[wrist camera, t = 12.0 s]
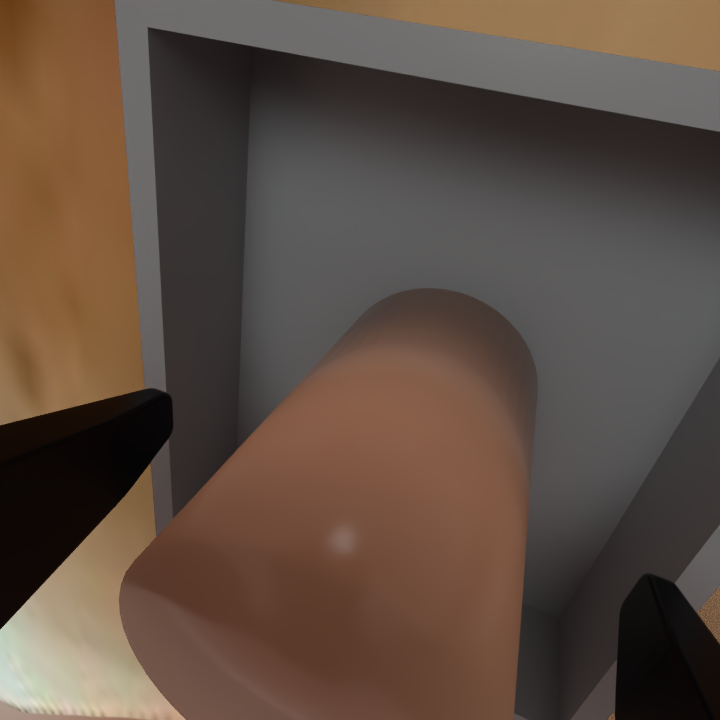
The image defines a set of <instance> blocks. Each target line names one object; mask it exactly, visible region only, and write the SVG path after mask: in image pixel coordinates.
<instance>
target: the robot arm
mask: <svg viewBox="0 0 720 720" xmlns="http://www.w3.org/2000/svg"><path fill="white" fill-rule="evenodd" d="M173 427H174V422H173V400H172V397H171V395H170V394H168V393H166V392H163V391H161V390H158V389H155V388H148V389H144V390H140V391H136V392H132V393H128V394H124V395H120V396H116V397H112V398H108V399H104V400H100V401H96V402H92V403H88V404H84V405H80V406H76V407H72V408H68V409H64V410H60V411H56V412H52V413H48V414H44V415H40V416H36V417H32V418H28V419H24V420H20V421H16V422H12V423H8V424H4V425H0V629H1V628H2V627H3V626H4V625H5V624H6V623H7V622H8V621H9V620H10V619H11V617H12V616H13V615H14V614H15V613H16V612H17V611H18V610H19V609H20V608H21V607H22V606H23V605H24V604H25V602H26V601H27V600H28V599H29V598H30V597H31V596H32V595H33V594H34V593H35V592H36V591H37V590H38V589H39V587H40V586H41V585H42V584H43V583H44V582H45V581H46V580H47V579H48V578H49V577H50V576H51V575H52V574H53V573H54V571H55V570H56V569H57V568H58V567H59V566H60V565H61V564H62V563H63V562H64V561H65V560H66V559H67V558H68V556H69V555H70V554H71V553H72V552H73V551H74V550H75V549H76V548H77V547H78V546H79V545H80V544H81V543H82V541H83V540H84V539H85V538H86V537H87V536H88V535H89V534H90V533H91V532H92V531H93V530H94V529H95V528H96V526H97V525H98V524H99V523H100V522H101V521H102V520H103V519H104V518H105V517H106V516H107V515H108V514H109V513H110V511H111V510H112V509H113V508H114V507H115V506H116V505H117V504H118V503H119V502H120V501H121V499H122V498H123V497H124V496H125V495H126V494H127V492H128V491H129V490H130V489H131V487H132V486H133V485H134V484H135V482H136V481H137V480H138V478H139V477H140V476H141V474H142V473H143V472H144V470H145V469H146V468H147V466H148V465H149V464H150V463H151V461H152V460H153V459H154V457H155V456H156V455H157V453H158V452H159V451H160V449H161V448H162V447H163V445H164V444H165V443H166V442H167V440H168V439H169V437H170V436H171V434H172V431H173ZM615 720H720V644H719V642H718V641H717V640H716V638H715V637H714V636H713V634H712V633H711V631H710V630H709V629H708V627H707V626H706V625H705V623H704V622H703V621H702V619H701V618H700V617H699V615H698V614H697V612H696V611H695V610H694V608H693V607H692V606H691V604H690V603H689V602H688V600H687V599H686V597H685V596H684V595H683V593H682V592H681V591H680V589H679V588H678V587H677V586H676V584H675V583H673V582H672V581H670V580H667V579H665V578H662V577H659V576H657V575H654V574H651V573H645V574H643V575H642V576H641V577H640V578H639V580H638V581H637V583H636V584H635V585H634V587H633V588H632V590H631V591H630V593H629V594H628V595H627V597H626V598H625V600H624V601H623V603H622V606H621V609H620V613H619V629H618V650H617V670H616V690H615Z"/></svg>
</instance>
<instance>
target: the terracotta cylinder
mask: <svg viewBox="0 0 720 720" xmlns="http://www.w3.org/2000/svg"><path fill="white" fill-rule="evenodd" d="M537 393H538V379H537V372H536V367H535V363H534V360H533V357H532V354H531V352H530V350H529V348H528V346H527V344H526V342H525V341H524V339H523V338H522V336H521V335H520V333H519V332H518V331H517V329H516V328H515V327H514V326H513V325H512V324H511V323H510V322H509V321H508V320H507V319H506V318H505V317H504V316H503V315H501V314H500V313H499V312H498V311H497V310H495V309H493V308H492V307H490V306H489V305H487V304H486V303H484V302H482V301H480V300H478V299H476V298H474V297H471V296H469V295H466V294H463V293H460V292H456V291H451V290H447V289H437V288H418V289H412V290H406V291H402V292H399V293H396V294H392V295H390V296H388V297H386V298H384V299H382V300H380V301H378V302H377V303H375V304H374V305H372V306H371V307H370V308H369V309H368V310H367V311H365V312H364V313H363V314H362V315H361V316H360V317H359V318H358V319H357V321H356V322H355V323H354V324H353V325H352V326H351V327H350V328H349V329H348V330H347V331H346V332H345V334H344V335H343V336H342V337H341V338H340V339H339V340H338V341H337V342H336V343H335V344H334V345H333V347H332V348H331V349H330V350H329V351H328V352H327V353H326V354H325V355H324V356H323V357H322V358H321V360H320V361H319V362H318V363H317V364H316V365H315V366H314V367H313V368H312V369H311V370H310V371H309V372H308V374H307V375H306V376H305V377H304V378H303V379H302V380H301V381H300V382H299V383H298V384H297V385H296V387H295V388H294V389H293V390H292V391H291V392H290V393H289V394H288V395H287V396H286V397H285V398H284V400H283V401H282V402H281V403H280V404H279V405H278V406H277V407H276V408H275V409H274V410H273V411H272V413H271V414H270V415H269V416H268V417H267V418H266V419H265V420H264V421H263V422H262V423H261V424H260V426H259V427H258V428H257V429H256V430H255V431H254V432H253V433H252V434H251V435H250V436H249V437H248V439H247V440H246V441H245V442H244V443H243V444H242V445H241V446H240V447H239V448H238V449H237V450H236V451H235V453H234V454H233V455H232V456H231V457H230V458H229V459H228V460H227V461H226V462H225V463H224V464H223V466H222V467H221V468H220V469H219V470H218V471H217V472H216V473H215V474H214V475H213V476H212V477H211V479H210V480H209V481H208V482H207V483H206V484H205V485H204V486H203V487H202V488H201V489H200V490H199V492H198V493H197V494H196V495H195V496H194V497H193V498H192V499H191V500H190V501H189V502H188V503H187V505H186V506H185V507H184V508H183V509H182V510H181V511H180V512H179V513H178V514H177V515H176V516H175V517H174V519H173V520H172V521H171V522H170V523H169V524H168V525H167V526H166V527H165V528H164V529H163V530H162V532H161V533H160V534H159V535H158V536H157V537H156V538H155V539H154V540H153V541H152V542H151V543H150V545H149V546H148V547H147V548H146V549H145V550H144V551H143V552H142V553H141V554H140V555H139V556H138V558H137V559H136V560H135V561H134V562H133V563H132V565H131V566H130V567H129V569H128V570H127V571H126V573H125V576H124V578H123V581H122V583H121V588H120V595H119V605H120V615H121V620H122V624H123V628H124V631H125V634H126V636H127V639H128V641H129V644H130V646H131V648H132V650H133V652H134V654H135V656H136V658H137V660H138V661H139V663H140V664H141V666H142V667H143V669H144V671H145V672H146V674H147V675H148V677H149V678H150V679H151V681H152V682H153V683H154V684H155V686H156V687H157V688H158V690H159V691H160V692H161V693H162V694H163V696H164V697H165V698H166V699H167V700H168V701H169V702H170V704H171V705H172V706H173V707H174V708H175V709H176V710H177V711H178V712H179V713H180V714H181V715H182V716H183V717H184V718H185V719H186V720H514V707H515V693H516V679H517V666H518V652H519V639H520V625H521V611H522V598H523V584H524V571H525V557H526V543H527V530H528V516H529V502H530V489H531V475H532V462H533V448H534V434H535V421H536V407H537Z"/></svg>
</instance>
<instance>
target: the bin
mask: <svg viewBox="0 0 720 720" xmlns="http://www.w3.org/2000/svg"><path fill="white" fill-rule="evenodd" d="M115 11H116V24H117V37H118V49H119V62H120V75H121V88H122V101H123V113H124V126H125V139H126V152H127V165H128V177H129V190H130V203H131V216H132V229H133V241H134V254H135V267H136V280H137V293H138V306H139V318H140V331H141V344H142V357H143V370H144V382H145V389H148V388H155V389H158V390H161V391H163V392H166V393H168V394H170V395H171V397H172V400H173V422H174V427H173V431H172V434H171V436H170V437H169V439H168V440H167V442H166V443H165V444H164V445H163V447H162V448H161V449H160V451H159V452H158V453H157V455H156V456H155V457H154V459H153V460H152V461H151V472H152V485H153V498H154V510H155V523H156V536H158V535H159V534H160V533H161V532H162V530H163V529H164V528H165V527H166V526H167V525H168V524H169V523H170V522H171V521H172V520H173V519H174V517H175V516H176V515H177V514H178V513H179V512H180V511H181V510H182V509H183V508H184V507H185V506H186V505H187V503H188V502H189V501H190V500H191V499H192V498H193V497H194V496H195V495H196V494H197V493H198V492H199V490H200V489H201V488H202V487H203V486H204V485H205V484H206V483H207V482H208V481H209V480H210V479H211V477H212V476H213V475H214V474H215V473H216V472H217V471H218V470H219V469H220V468H221V467H222V466H223V464H224V463H225V462H226V461H227V460H228V459H229V458H230V457H231V456H232V455H233V454H234V453H235V451H236V450H237V449H238V448H239V447H240V446H241V445H242V444H243V443H244V442H245V441H246V440H247V439H248V437H249V436H250V435H251V434H252V433H253V432H254V431H255V430H256V429H257V428H258V427H259V426H260V424H261V423H262V422H263V421H264V420H265V419H266V418H267V417H268V416H269V415H270V414H271V413H272V411H273V410H274V409H275V408H276V407H277V406H278V405H279V404H280V403H281V402H282V401H283V400H284V398H285V397H286V396H287V395H288V394H289V393H290V392H291V391H292V390H293V389H294V388H295V387H296V385H297V384H298V383H299V382H300V381H301V380H302V379H303V378H304V377H305V376H306V375H307V374H308V372H309V371H310V370H311V369H312V368H313V367H314V366H315V365H316V364H317V363H318V362H319V361H320V360H321V358H322V357H323V356H324V355H325V354H326V353H327V352H328V351H329V350H330V349H331V348H332V347H333V345H334V344H335V343H336V342H337V341H338V340H339V339H340V338H341V337H342V336H343V335H344V334H345V332H346V331H347V330H348V329H349V328H350V327H351V326H352V325H353V324H354V323H355V322H356V321H357V319H358V318H359V317H360V316H361V315H362V314H363V313H364V312H365V311H367V310H368V309H369V308H370V307H371V306H372V305H374V304H375V303H377V302H378V301H380V300H382V299H384V298H386V297H388V296H390V295H392V294H396V293H399V292H402V291H406V290H412V289H418V288H437V289H447V290H451V291H456V292H460V293H463V294H466V295H469V296H471V297H474V298H476V299H478V300H480V301H482V302H484V303H486V304H487V305H489V306H490V307H492V308H493V309H495V310H497V311H498V312H499V313H500V314H501V315H503V316H504V317H505V318H506V319H507V320H508V321H509V322H510V323H511V324H512V325H513V326H514V327H515V328H516V329H517V331H518V332H519V333H520V335H521V336H522V338H523V339H524V341H525V342H526V344H527V346H528V348H529V350H530V352H531V354H532V357H533V360H534V363H535V367H536V372H537V379H538V393H537V407H536V421H535V434H534V448H533V462H532V475H531V489H530V502H529V516H528V530H527V543H526V557H525V571H524V584H523V598H522V611H521V625H520V639H519V652H518V666H517V679H516V693H515V707H514V720H607V719H608V718H609V717H610V715H611V714H612V713H613V712H614V711H615V690H616V670H617V650H618V629H619V613H620V609H621V606H622V603H623V601H624V600H625V598H626V597H627V595H628V594H629V593H630V591H631V590H632V588H633V587H634V585H635V584H636V583H637V581H638V580H639V578H640V577H641V576H642V575H643V574H645V573H651V574H654V575H657V576H659V577H662V578H665V579H667V580H670V581H672V582H673V583H675V584H676V586H677V587H678V588H679V589H680V591H681V592H682V593H683V595H684V596H685V597H686V599H687V600H688V602H689V603H690V604H691V606H692V607H693V608H694V610H695V611H696V612H698V611H699V610H700V608H701V607H702V606H703V605H704V604H705V602H706V601H707V600H708V599H709V598H710V596H711V595H712V594H713V593H714V592H715V590H716V589H717V588H718V587H719V586H720V71H714V70H708V69H702V68H695V67H689V66H683V65H676V64H670V63H664V62H658V61H651V60H645V59H639V58H632V57H626V56H620V55H613V54H607V53H601V52H594V51H588V50H582V49H576V48H569V47H563V46H557V45H550V44H544V43H538V42H531V41H525V40H519V39H513V38H506V37H500V36H494V35H487V34H481V33H475V32H468V31H462V30H456V29H449V28H443V27H437V26H431V25H424V24H418V23H412V22H405V21H399V20H393V19H386V18H380V17H374V16H367V15H361V14H355V13H349V12H342V11H336V10H330V9H323V8H317V7H311V6H304V5H298V4H292V3H286V2H279V1H273V0H115Z"/></svg>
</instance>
